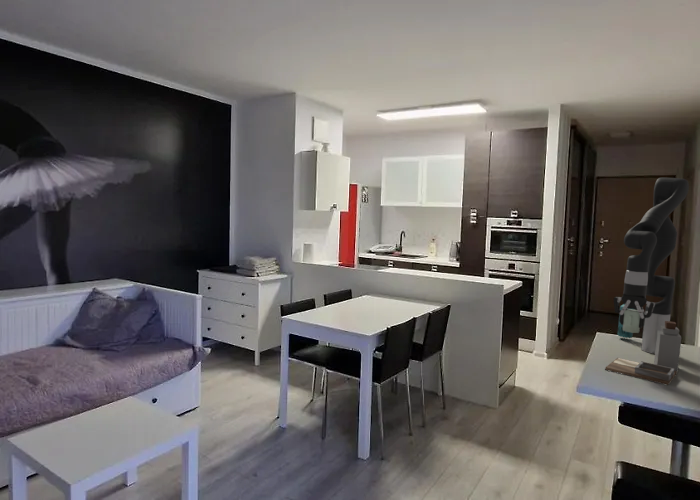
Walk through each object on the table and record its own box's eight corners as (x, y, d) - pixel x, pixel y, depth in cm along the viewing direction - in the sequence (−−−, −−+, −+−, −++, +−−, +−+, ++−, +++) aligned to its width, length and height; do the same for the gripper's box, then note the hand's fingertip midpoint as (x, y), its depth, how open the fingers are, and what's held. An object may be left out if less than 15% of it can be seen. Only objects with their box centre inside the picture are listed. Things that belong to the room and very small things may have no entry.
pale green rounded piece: (640, 331, 183) (642, 311, 182) (635, 334, 177) (638, 313, 176) (624, 328, 187) (626, 308, 186) (619, 331, 181) (621, 311, 180)
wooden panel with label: (617, 360, 191) (618, 352, 191) (676, 373, 177) (677, 366, 177) (605, 369, 178) (606, 361, 178) (668, 385, 165) (669, 376, 165)
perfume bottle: (674, 366, 186) (679, 321, 184) (677, 371, 180) (682, 325, 178) (654, 363, 189) (658, 319, 187) (656, 368, 183) (661, 322, 181)
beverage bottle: (628, 337, 227) (632, 296, 225) (635, 341, 220) (639, 299, 219) (614, 336, 228) (618, 296, 226) (620, 340, 221) (624, 298, 219)
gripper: (659, 284, 179) (654, 328, 181) (617, 279, 189) (613, 320, 190) (655, 286, 173) (650, 331, 175) (612, 281, 183) (608, 323, 185)
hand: (631, 325), depth 183 cm, fingers closed on pale green rounded piece, 5 cm apart
